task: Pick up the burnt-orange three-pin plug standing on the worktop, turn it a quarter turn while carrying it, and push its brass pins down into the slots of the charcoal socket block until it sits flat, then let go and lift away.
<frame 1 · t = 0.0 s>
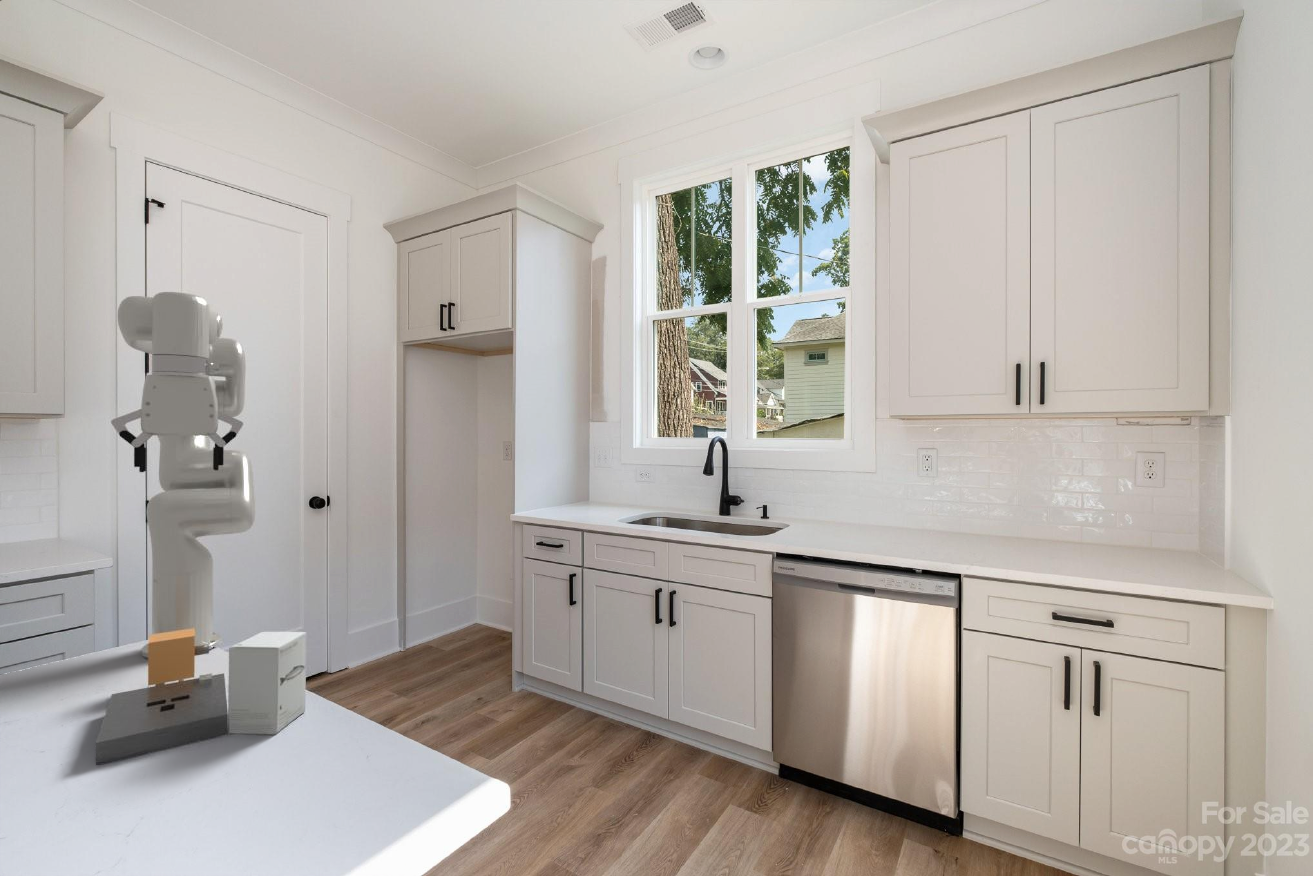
hand: (180, 470, 102), 37 cm above the countertop, tool pointing down, fingers open, 9 cm apart
socket: (167, 723, 90), on the countertop
supplement box: (268, 724, 91), on the countertop
plug: (172, 687, 103), on the countertop
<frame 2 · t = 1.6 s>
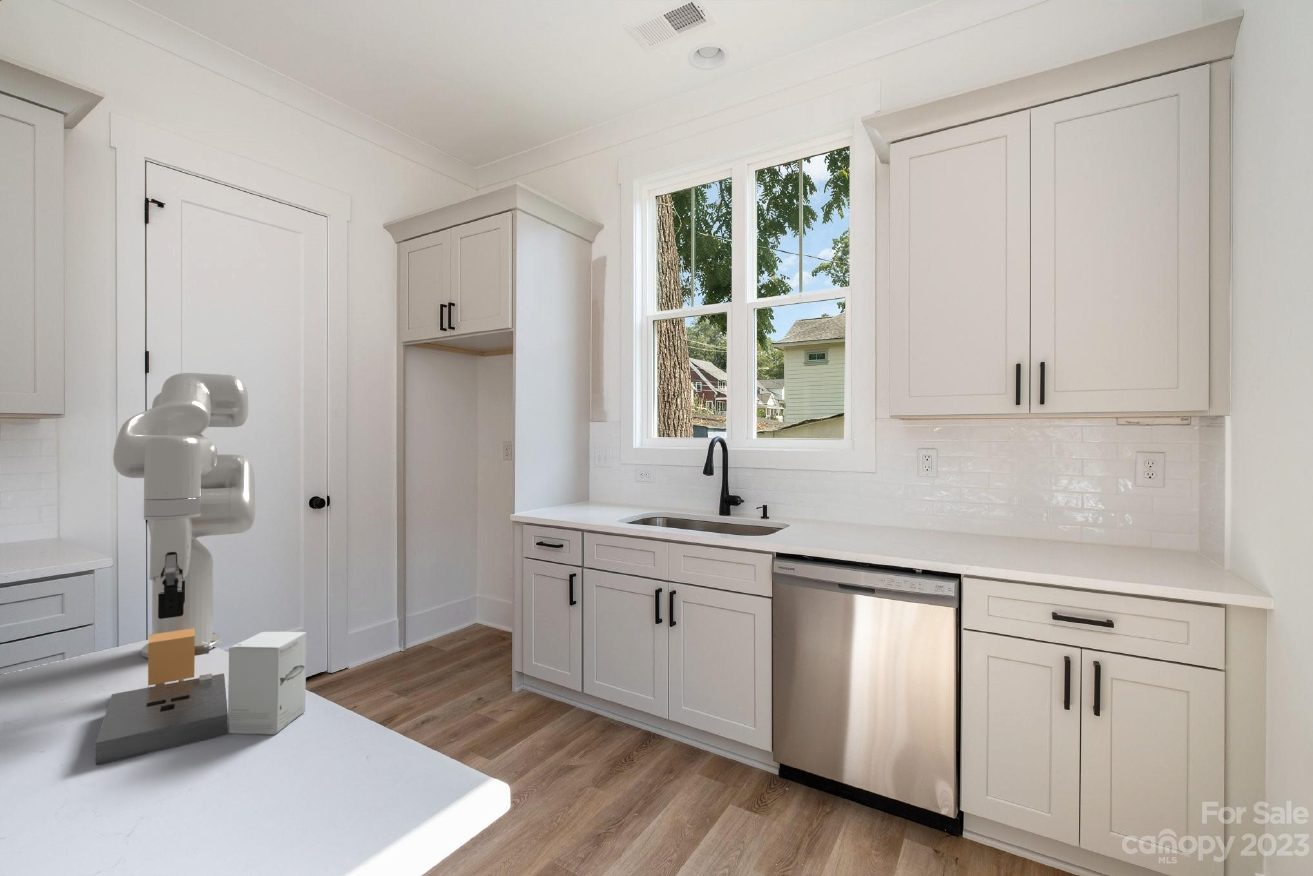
hand: (172, 610, 102), 13 cm above the countertop, tool pointing down, fingers open, 9 cm apart
nothing on the countertop moved.
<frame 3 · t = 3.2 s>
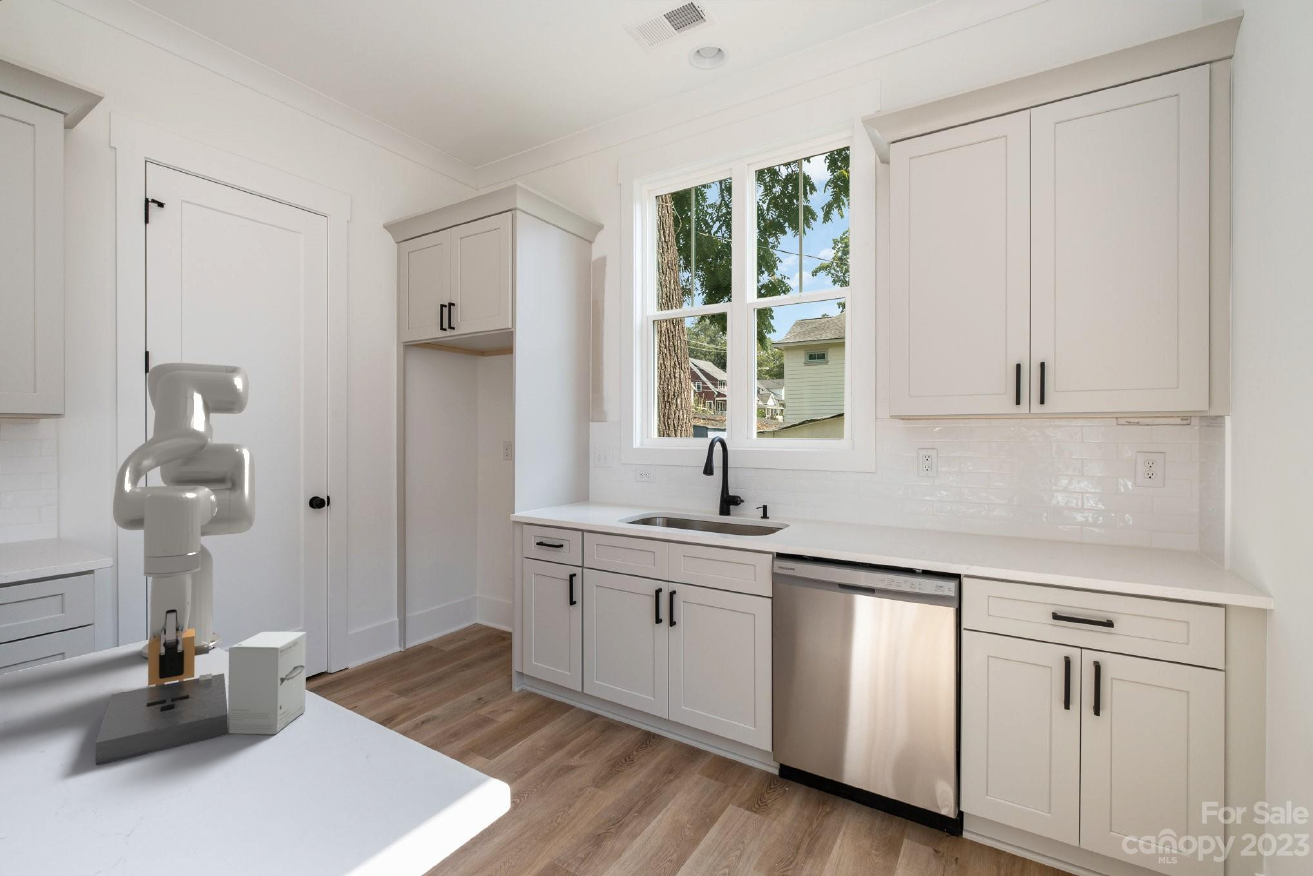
hand: (172, 669, 103), 3 cm above the countertop, tool pointing down, fingers closed on plug, 4 cm apart
plug: (172, 687, 103), on the countertop, touching gripper
everything else where it was.
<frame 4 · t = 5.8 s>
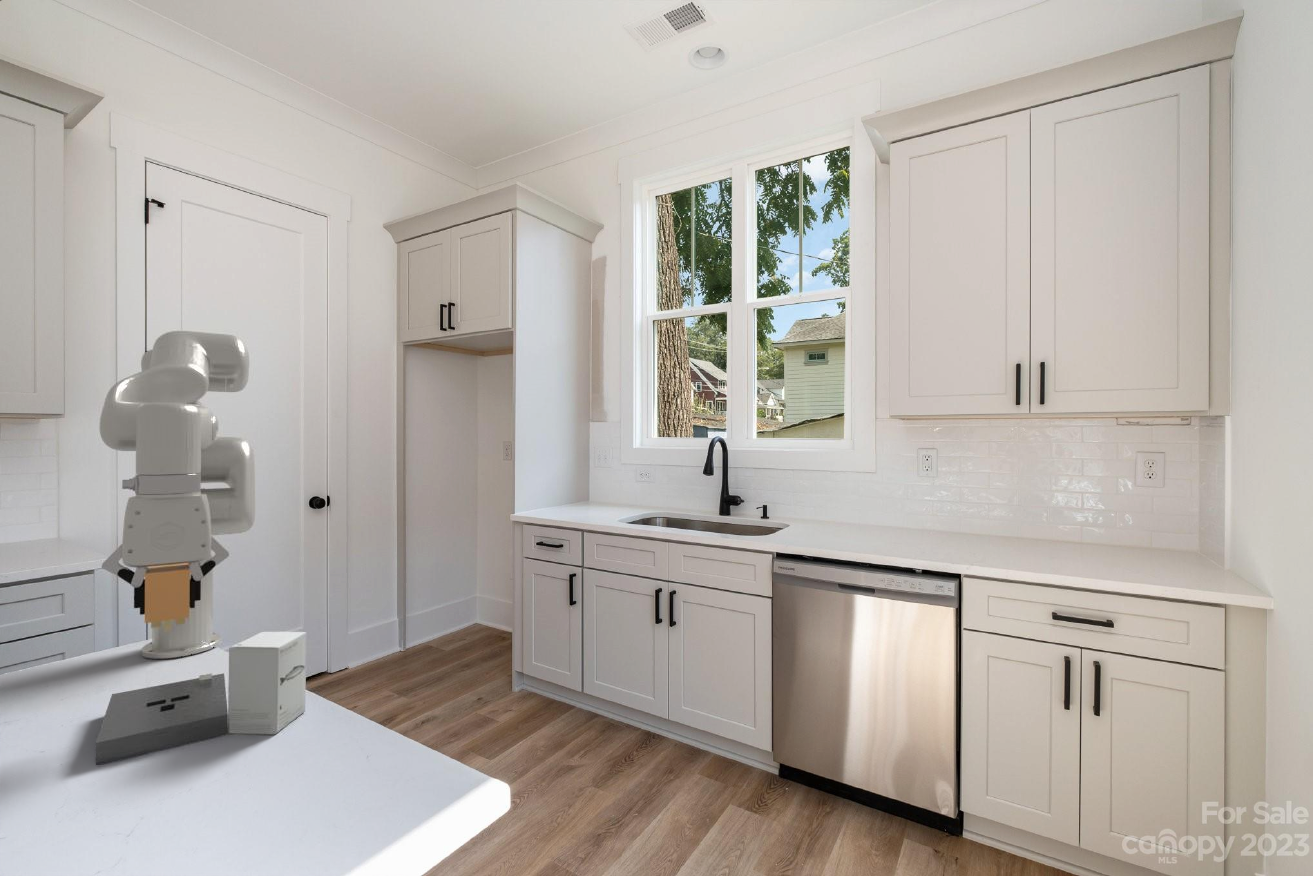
hand: (168, 607, 90), 17 cm above the countertop, tool pointing down, fingers closed on plug, 4 cm apart
plug: (168, 627, 90), point 14 cm above the countertop, touching gripper
everything else where it was.
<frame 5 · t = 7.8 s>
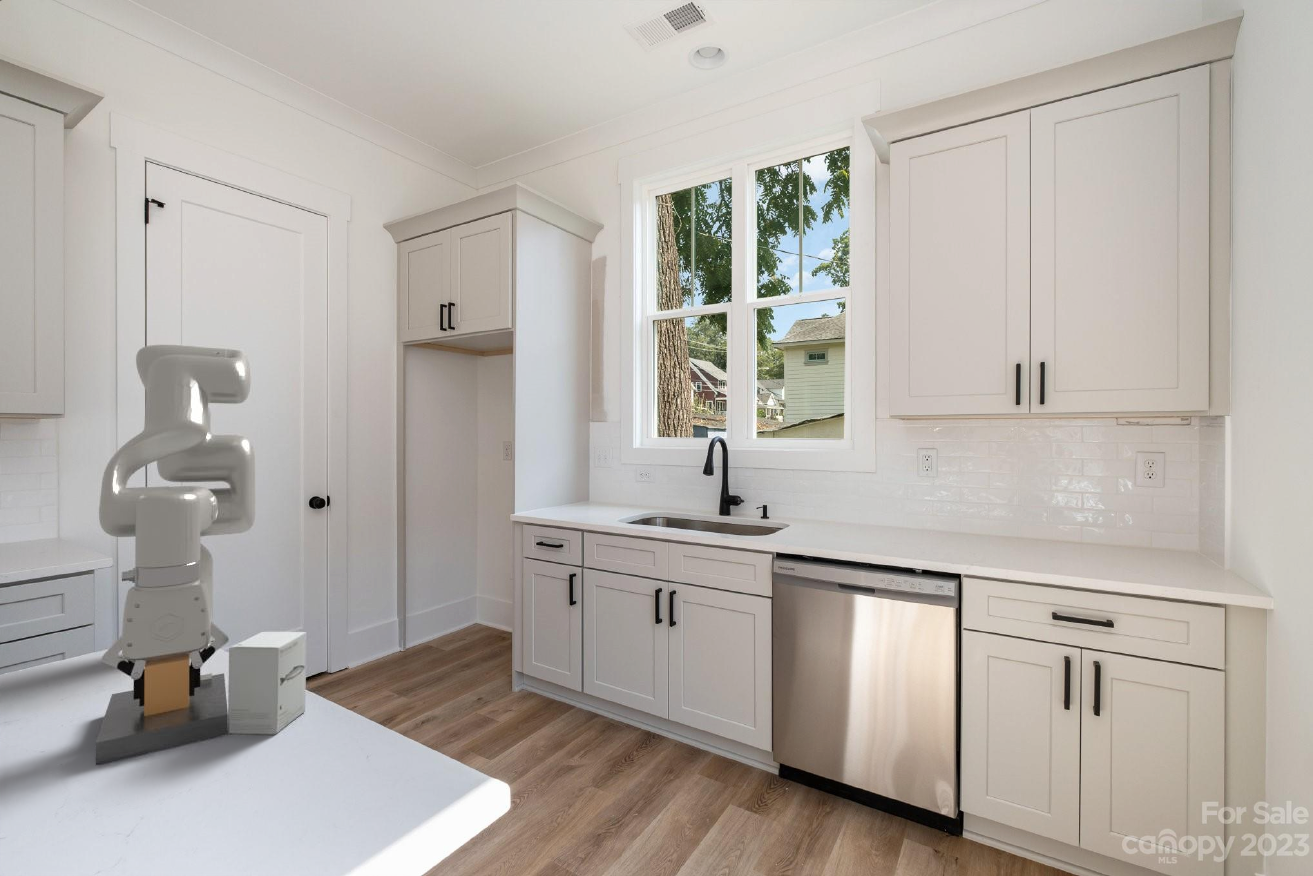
hand: (167, 696, 90), 4 cm above the countertop, tool pointing down, fingers closed on plug, 5 cm apart
plug: (167, 716, 90), point 1 cm above the countertop, touching gripper, socket
everything else where it was.
when the fingers open (4 cm above the countertop, at t = 8.8 s): plug stays where it is, resting on socket.
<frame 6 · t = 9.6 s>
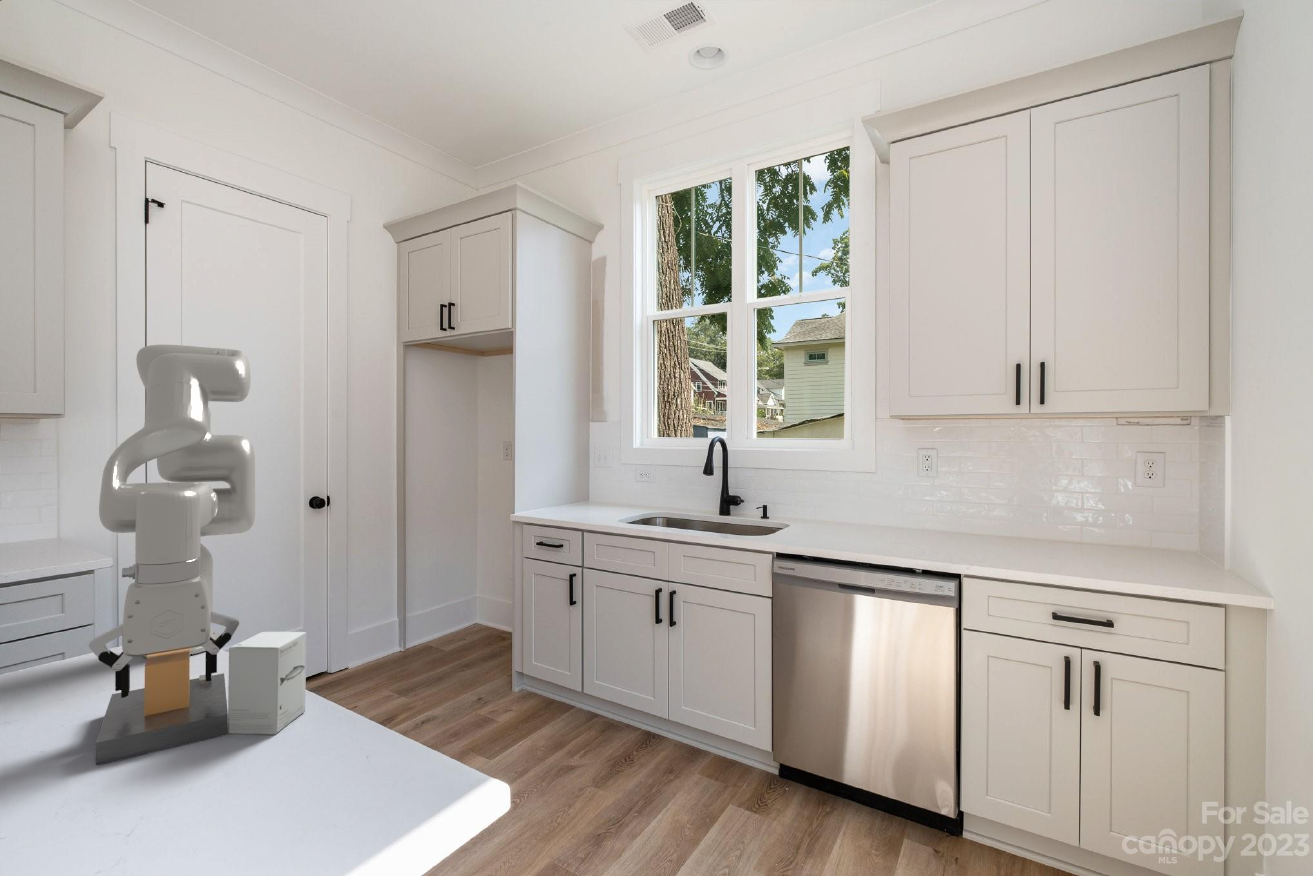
hand: (168, 686, 90), 5 cm above the countertop, tool pointing down, fingers open, 9 cm apart
plug: (167, 715, 90), point 1 cm above the countertop, touching socket
everything else where it was.
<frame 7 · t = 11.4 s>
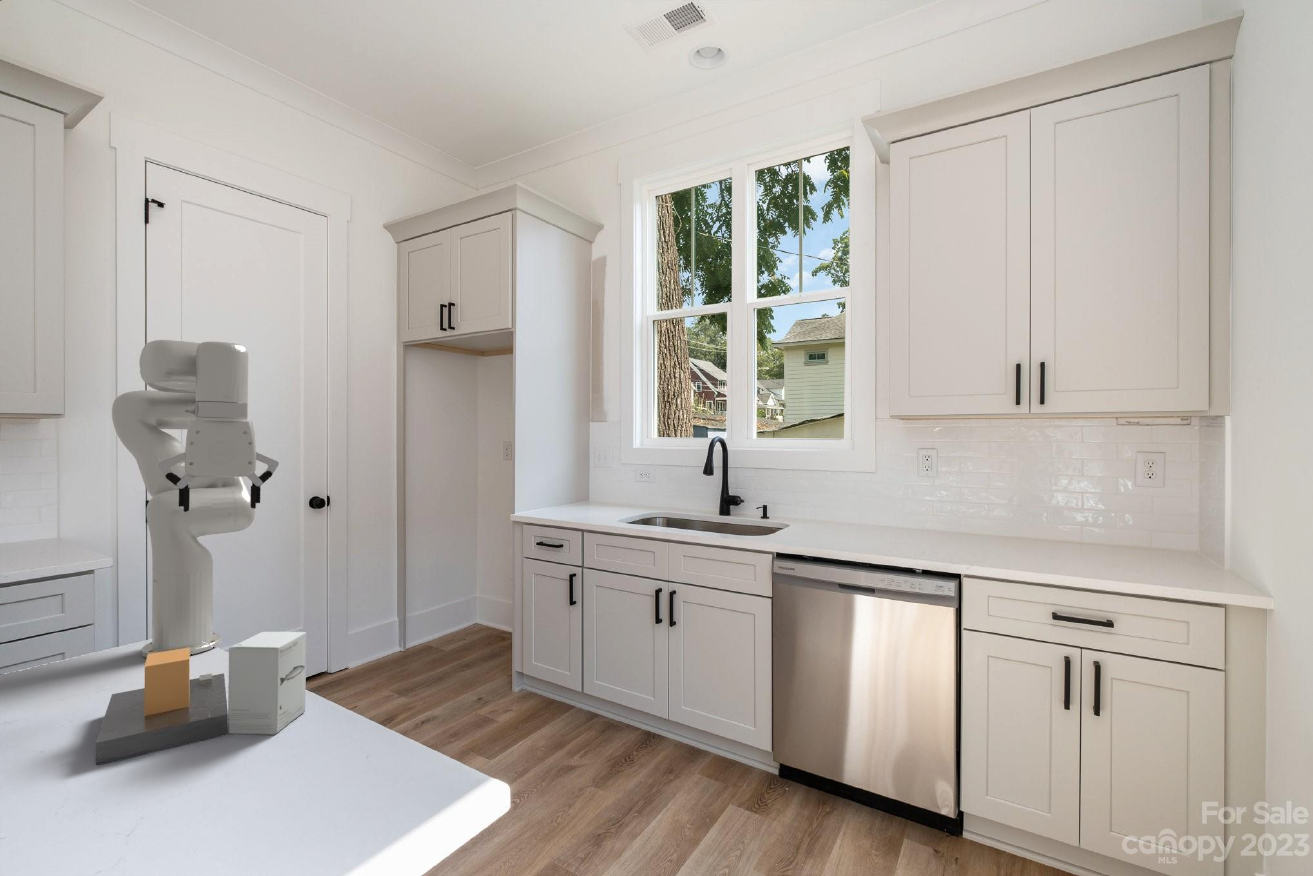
hand: (220, 509, 108), 30 cm above the countertop, tool pointing down, fingers open, 9 cm apart
nothing on the countertop moved.
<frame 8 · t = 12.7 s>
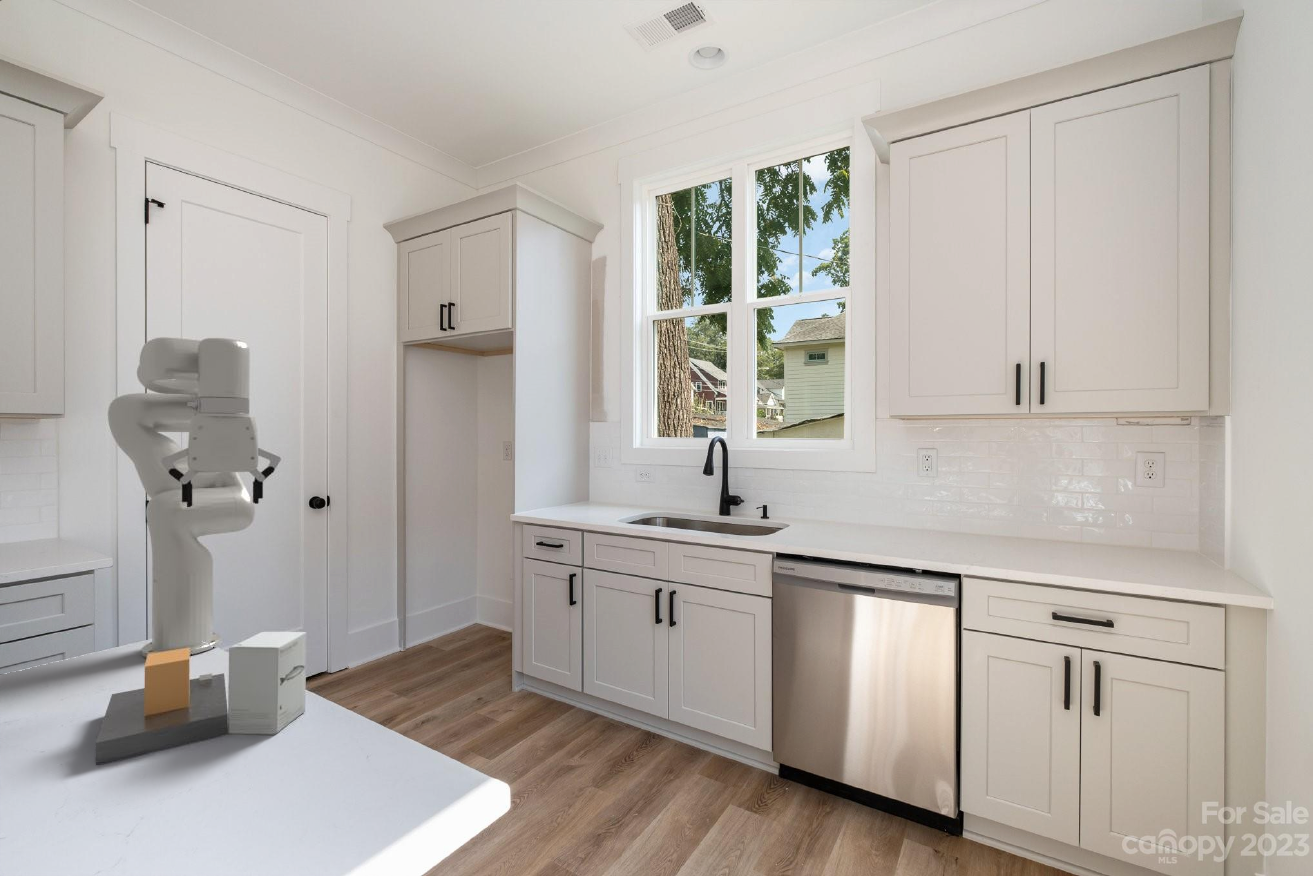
hand: (223, 504, 108), 30 cm above the countertop, tool pointing down, fingers open, 9 cm apart
nothing on the countertop moved.
at the end: plug 0.0 cm off-centre on the socket, point 1.2 cm above the socket's base; plug tilted 0°; the gripper is holding nothing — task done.
